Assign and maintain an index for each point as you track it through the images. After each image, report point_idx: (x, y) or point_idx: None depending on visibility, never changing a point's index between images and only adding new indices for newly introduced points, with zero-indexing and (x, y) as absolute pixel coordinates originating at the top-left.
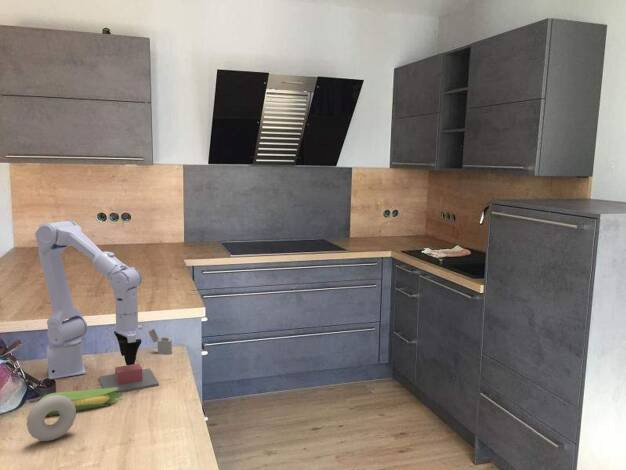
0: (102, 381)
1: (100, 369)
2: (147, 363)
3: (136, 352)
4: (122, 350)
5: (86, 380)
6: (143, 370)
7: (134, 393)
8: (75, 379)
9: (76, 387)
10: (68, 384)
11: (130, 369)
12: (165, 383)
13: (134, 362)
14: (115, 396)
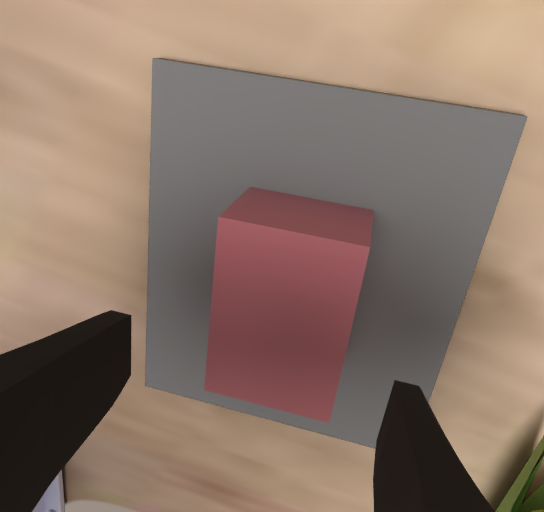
0: (226, 400)
1: (17, 321)
2: (13, 20)
3: (484, 501)
4: (97, 406)
5: (142, 427)
6: (175, 122)
7: (518, 319)
8: (105, 454)
9: (209, 488)
10: (153, 494)
11: (320, 329)
12: (524, 44)
13: (426, 399)
14: (531, 455)
